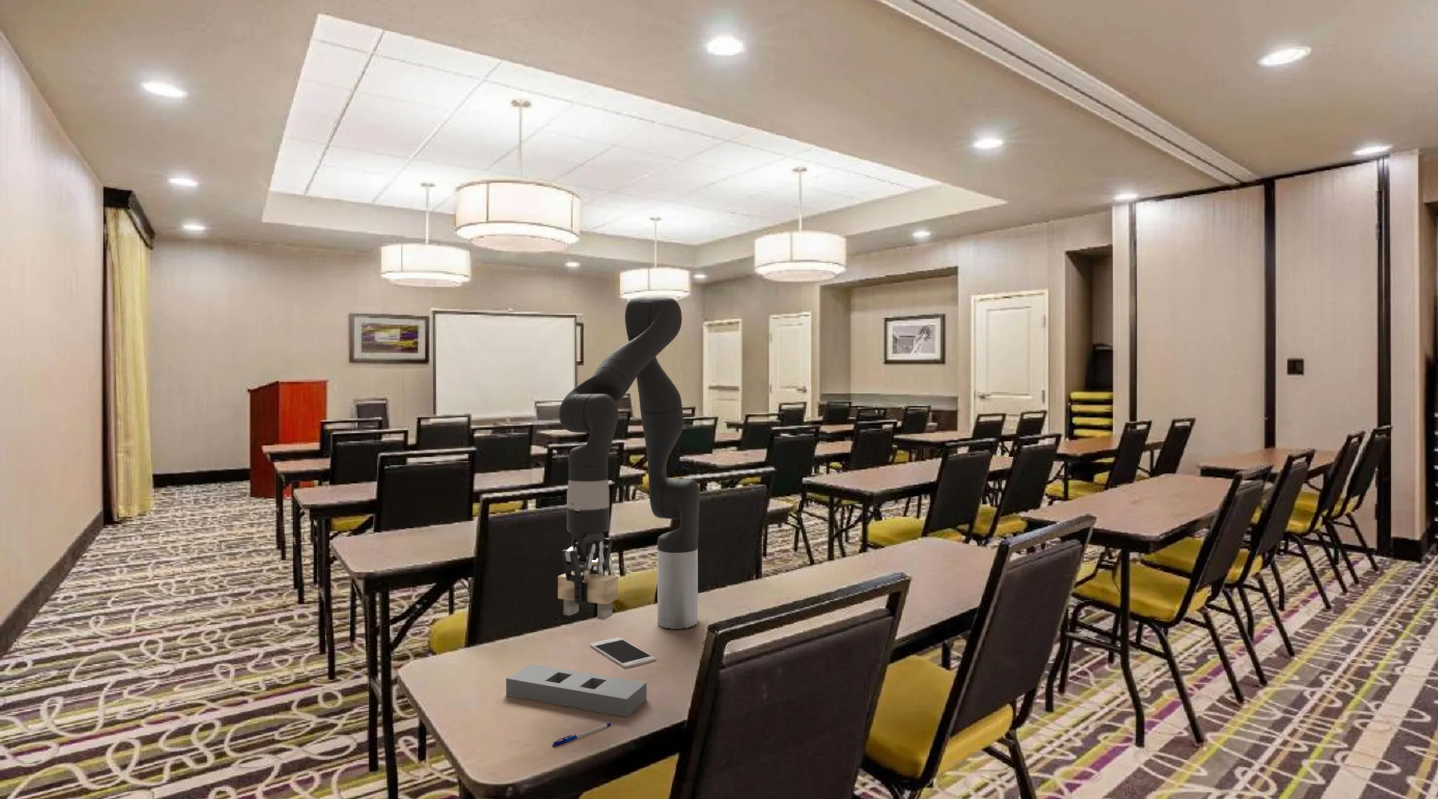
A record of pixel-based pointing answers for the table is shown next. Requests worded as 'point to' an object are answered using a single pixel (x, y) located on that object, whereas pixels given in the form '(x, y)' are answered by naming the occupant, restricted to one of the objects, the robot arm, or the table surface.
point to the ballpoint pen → (579, 735)
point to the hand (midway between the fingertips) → (587, 599)
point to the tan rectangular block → (590, 594)
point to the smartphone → (622, 652)
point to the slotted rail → (577, 689)
